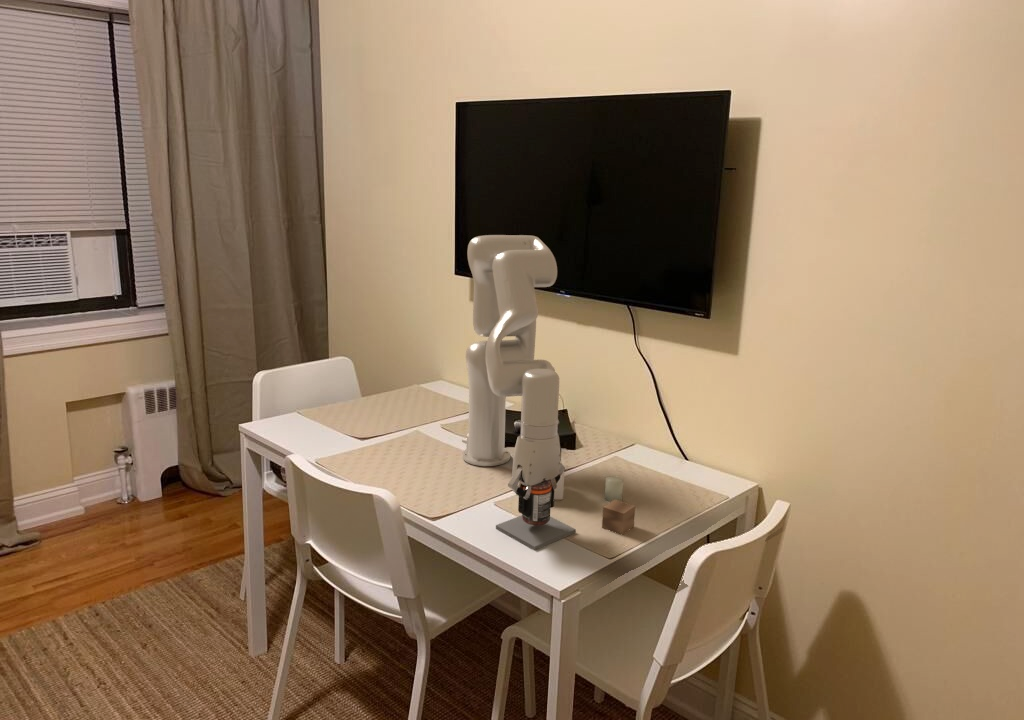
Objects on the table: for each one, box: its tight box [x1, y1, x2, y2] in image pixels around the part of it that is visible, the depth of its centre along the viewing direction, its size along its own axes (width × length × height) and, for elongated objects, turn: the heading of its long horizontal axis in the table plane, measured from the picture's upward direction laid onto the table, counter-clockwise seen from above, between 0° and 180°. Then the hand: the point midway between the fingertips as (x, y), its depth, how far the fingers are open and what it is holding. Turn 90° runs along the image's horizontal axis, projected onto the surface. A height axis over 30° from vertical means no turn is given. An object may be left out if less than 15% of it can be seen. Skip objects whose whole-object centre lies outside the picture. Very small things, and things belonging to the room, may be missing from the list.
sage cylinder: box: [604, 475, 624, 503], centre depth 176 cm, size 4×4×5 cm
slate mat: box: [495, 514, 577, 551], centre depth 160 cm, size 12×12×1 cm
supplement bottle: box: [521, 478, 551, 525], centre depth 158 cm, size 6×6×11 cm
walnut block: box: [601, 499, 636, 536], centre depth 162 cm, size 5×5×5 cm
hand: (536, 508), depth 159 cm, fingers closed on supplement bottle, 6 cm apart
